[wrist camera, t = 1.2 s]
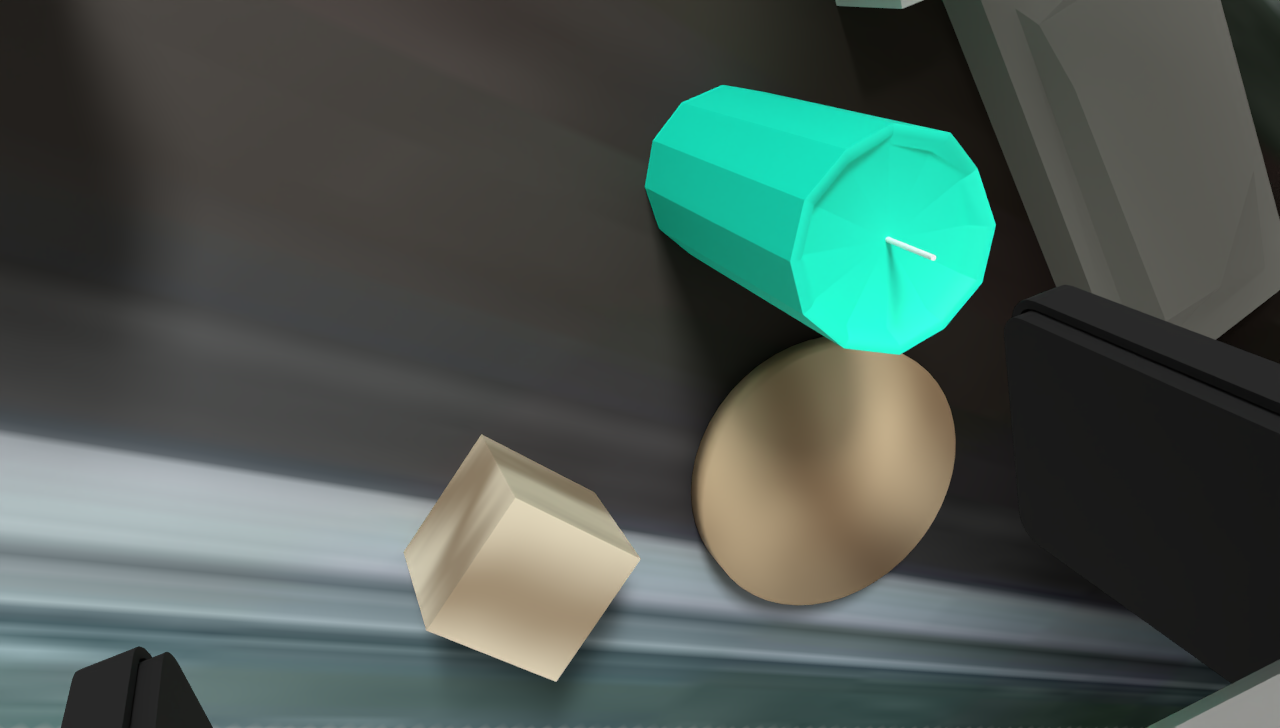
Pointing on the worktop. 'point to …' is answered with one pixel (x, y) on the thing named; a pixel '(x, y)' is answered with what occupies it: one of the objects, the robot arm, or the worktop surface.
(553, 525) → the maple cube
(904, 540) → the disc
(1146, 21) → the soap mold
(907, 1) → the grey stone block
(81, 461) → the worktop surface
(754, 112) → the candle
